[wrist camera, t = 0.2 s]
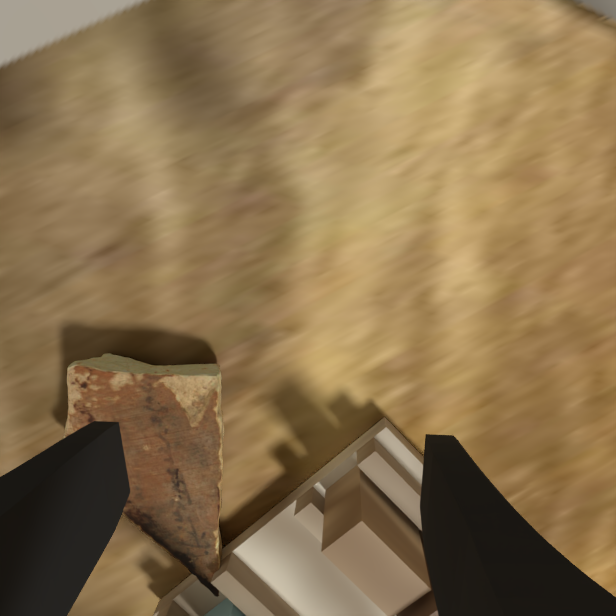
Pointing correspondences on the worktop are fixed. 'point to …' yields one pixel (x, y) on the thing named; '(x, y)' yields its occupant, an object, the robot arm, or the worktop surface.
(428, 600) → the walnut offcut
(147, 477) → the shard
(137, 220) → the worktop surface
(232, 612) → the teal panel
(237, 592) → the birch rack
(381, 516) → the oak offcut
